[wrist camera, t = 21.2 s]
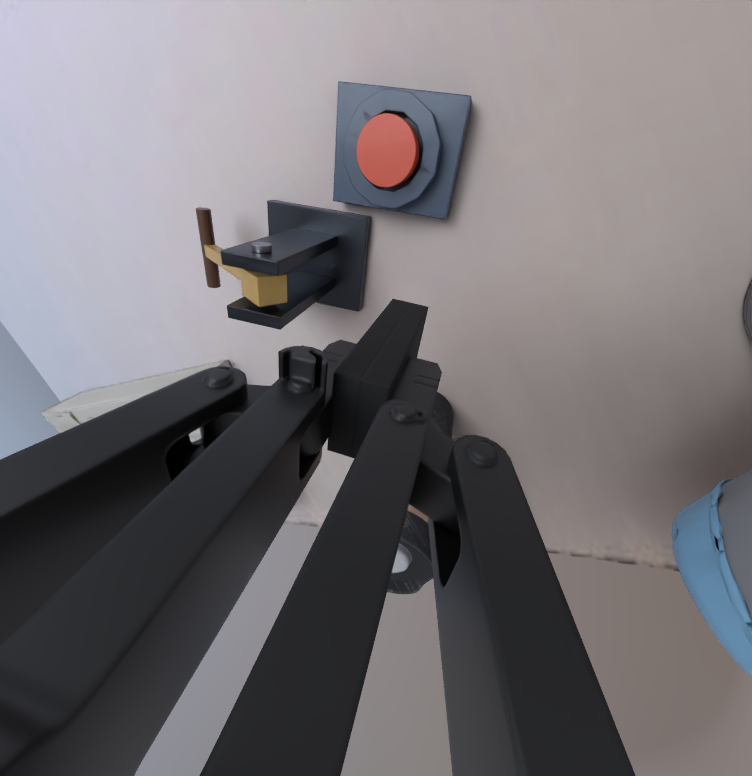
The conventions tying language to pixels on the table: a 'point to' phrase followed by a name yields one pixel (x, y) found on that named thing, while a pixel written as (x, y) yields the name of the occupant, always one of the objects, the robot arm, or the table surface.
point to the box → (115, 398)
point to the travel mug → (418, 527)
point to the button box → (436, 147)
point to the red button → (387, 150)
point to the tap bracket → (304, 261)
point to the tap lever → (238, 269)
